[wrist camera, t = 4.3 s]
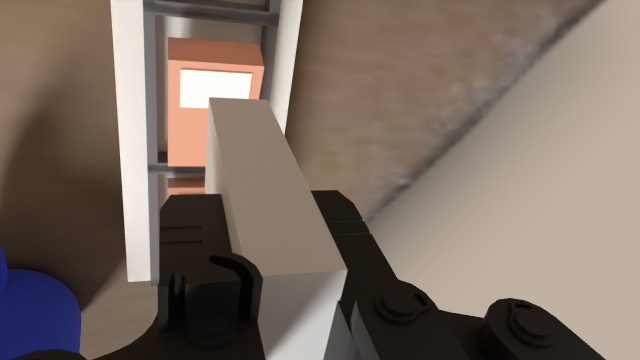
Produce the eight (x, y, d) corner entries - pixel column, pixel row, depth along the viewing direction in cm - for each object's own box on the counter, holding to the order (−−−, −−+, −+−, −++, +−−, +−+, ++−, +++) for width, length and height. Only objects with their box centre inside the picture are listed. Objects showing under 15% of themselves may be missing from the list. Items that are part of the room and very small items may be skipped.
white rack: (108, -248, 17) (89, -289, 12) (299, -199, 19) (342, -218, 14) (132, 227, 27) (126, 296, 23) (252, 222, 30) (268, 285, 25)
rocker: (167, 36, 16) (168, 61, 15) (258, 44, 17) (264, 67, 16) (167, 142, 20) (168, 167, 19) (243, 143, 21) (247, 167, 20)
